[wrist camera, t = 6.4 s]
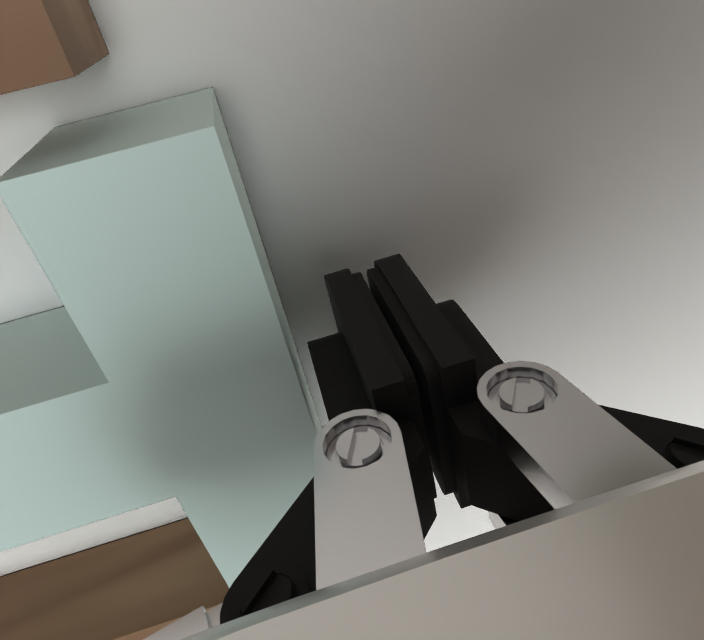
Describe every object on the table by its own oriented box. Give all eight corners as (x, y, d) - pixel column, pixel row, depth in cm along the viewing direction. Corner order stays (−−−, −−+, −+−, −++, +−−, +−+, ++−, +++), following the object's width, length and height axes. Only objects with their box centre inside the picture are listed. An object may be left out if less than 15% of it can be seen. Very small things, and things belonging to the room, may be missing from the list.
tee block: (-344, 228, 10) (-585, 334, 7) (212, 87, 10) (214, 126, 7) (-20, 557, 15) (-75, 693, 12) (327, 447, 16) (355, 551, 13)
